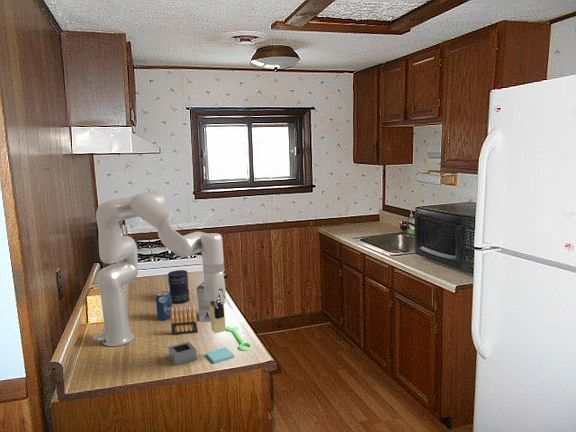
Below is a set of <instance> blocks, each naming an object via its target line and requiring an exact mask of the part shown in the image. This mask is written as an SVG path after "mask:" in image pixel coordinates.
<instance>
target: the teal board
mask: <svg viewBox="0 0 576 432" xmlns="http://www.w3.org/2000/svg"><path fill="white" fill-rule="evenodd" d="M205 356H206V357H207V358H208V359H209V360H210V362H212V363H213V364H218V363H221V362H225V361H227V360H231V359H235V355H234V353H232V351H231V350H229V349H228V348H227V347H226V346H224V347H221V348H218V349H214V350H212V351H211V350H210V351H208V352H205Z"/></svg>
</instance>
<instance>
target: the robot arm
mask: <svg viewBox="0 0 576 432" xmlns="http://www.w3.org/2000/svg"><path fill="white" fill-rule="evenodd" d="M166 206H167V201H166V198H165V196H164V195H163V194H161V192H158V191H149V192H148V191H147V192H141V193H138V194H135V195H133V196H127V197H120V198H116V199H110V200H107V201H105V202H103V203H101V204H100V205H98V207H97V210H96V213H95V218H96V225H97V230H98V254H99V258H100V261H101V262H102V263H104V264H108V265H107V266H106V267H103V268H101V269H100V270H98V272H97V273H96V277H95V280H96V284H97V288H98V291H99V296H100V299H101V300H100V302H101V307H102V317H103V325H104V330H103V332H101V333H100V334H95V335H92V338H93V339H92V340H93V341H96V340H97V342H100V341H101V343H103V344H102V345H104V346H105V345H106V347H118V346H122V345H125V344H128V343H130V342H132V341H133V340H134V339H135V333H134V332H132V331H131V329H130V320H129V319H130V318H129V311H128V301H127V296H126V293H125V292H124V291H123V289H122V287H123V286H125V285H127V284H130V283H132V282H134V281H135V280H136V279H137V276H138V272H139V264H138V262H139V258H138V245H137V242H136V241H135V239H134V238H133V237H131V236H130V235H122V228H121V225H120V224H119V222H121V221H124V220H129V219H134V218H140V219H142V220H143V221H144V222H146V223H147V224H148V225H150V226H151V227H152V228H153V229H155V230H156V231H157V234H158V238H159V239H160V242H161V243H162V244H163V246H164V247H166V248H167V249H168V250H169V251H171V253H174V254H175V255H176V256H178V257H180V258H187V257H191V256H193V255H196V254H198V253H201V256H202V257H201V258H202V260H201V261H202V270H203V282H204V294H205V296H206V297H208V298H209V303H210V304H213V303H215V306H216V308H215V317H216V319H219V318H223V317H224V314H225V306H224V305H225V304H226V300H225V299H226V297H227V294H226V282H225V281H226V280H225V277H224V272H225V260H224V259H225V258H224V247H223V237H222V235H221V234H220V233H216V232H215V233H214V232H213V233H211V232H210V233H207V232H202V231H193V232H191V233H187V234H185V235H182V234H181V233H179V232H178V231H176V230H175V229H174V228H173V227H172V223H173V221H174V218H175V217H174V213H173V212H172V211H171V210H169V209H168V208H167V207H166ZM217 301H218V303H217Z"/></svg>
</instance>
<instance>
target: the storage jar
mask: <svg viewBox="0 0 576 432" xmlns="http://www.w3.org/2000/svg"><path fill="white" fill-rule="evenodd" d="M167 276H168V277H167V278H168V279H167V280H168V285H169V293H170V295H171V299H172V305H183V304H187V303H188V302H190V290H189V276H188V271H187V270H185V269H184V270H183V269H181V270H180V269H179V270H173V271H169V272H168V273H167Z"/></svg>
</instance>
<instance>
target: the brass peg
mask: <svg viewBox="0 0 576 432" xmlns="http://www.w3.org/2000/svg"><path fill="white" fill-rule="evenodd" d="M218 302H219V301H218ZM218 302H217V303H218ZM209 306H210V318H211V321H210V326H211V327H210V329H211V331H212V332H213V333H215V334H219V333H222V332H227V331H226V315H225V313H224V317H223V318H219V319H216V317H215V308H216V306H215V303H213V304H209Z"/></svg>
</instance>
